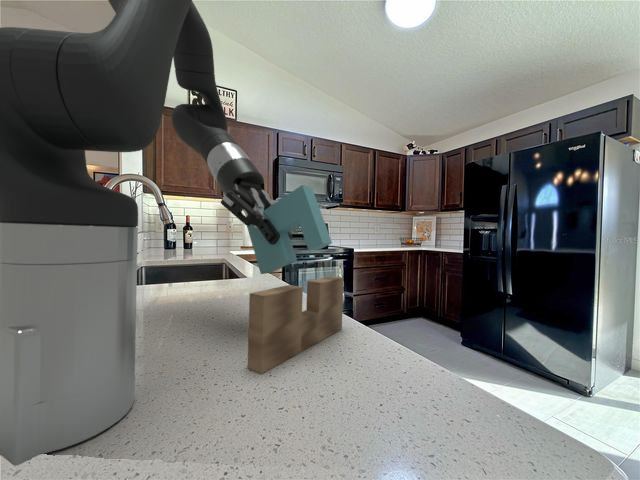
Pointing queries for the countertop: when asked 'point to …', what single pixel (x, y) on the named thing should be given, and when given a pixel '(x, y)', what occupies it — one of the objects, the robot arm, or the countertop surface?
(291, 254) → the teal l-shaped piece
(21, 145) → the robot arm
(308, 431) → the countertop surface
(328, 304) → the u-shaped wooden block
